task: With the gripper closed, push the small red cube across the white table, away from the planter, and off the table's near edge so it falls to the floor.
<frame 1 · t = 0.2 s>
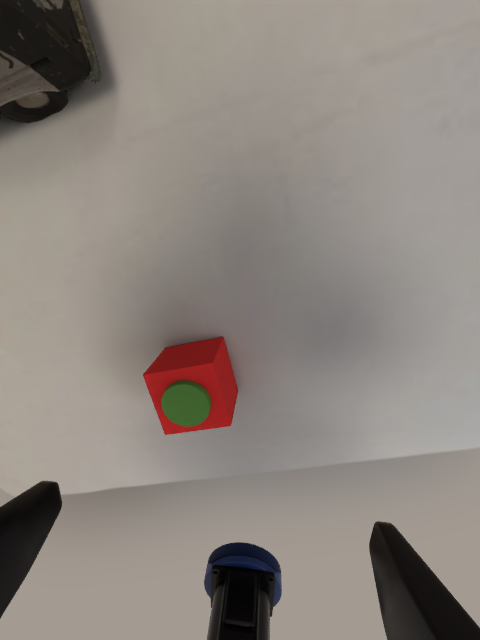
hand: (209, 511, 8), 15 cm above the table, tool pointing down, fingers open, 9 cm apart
red cube: (202, 369, 24), on the table
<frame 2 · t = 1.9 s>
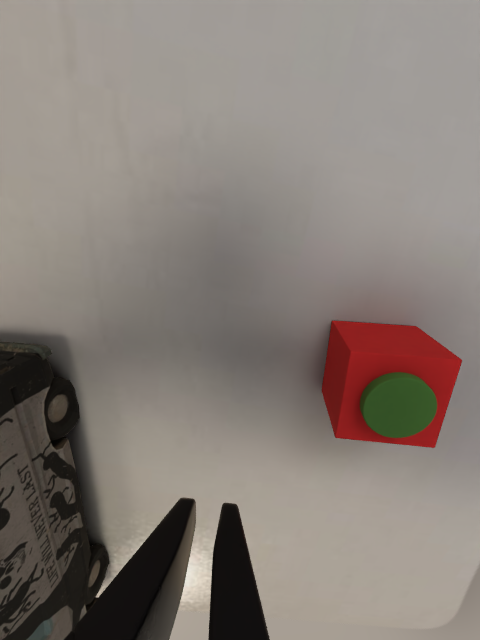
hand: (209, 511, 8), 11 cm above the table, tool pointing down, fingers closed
toy car: (36, 470, 24), on the table
red cube: (366, 360, 18), on the table
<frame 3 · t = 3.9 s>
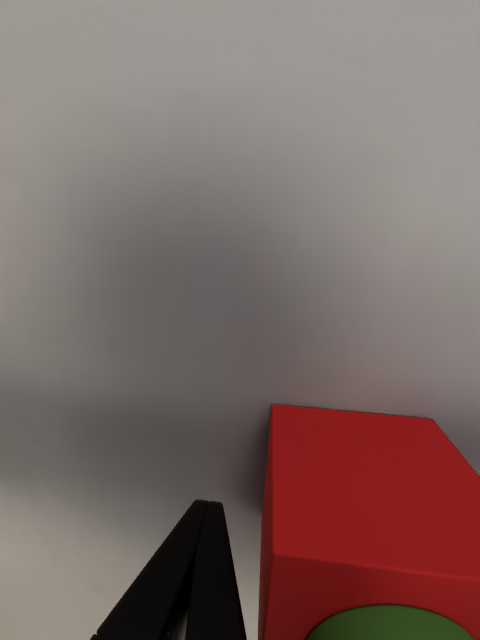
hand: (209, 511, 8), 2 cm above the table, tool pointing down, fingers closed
red cube: (338, 472, 10), on the table, touching gripper
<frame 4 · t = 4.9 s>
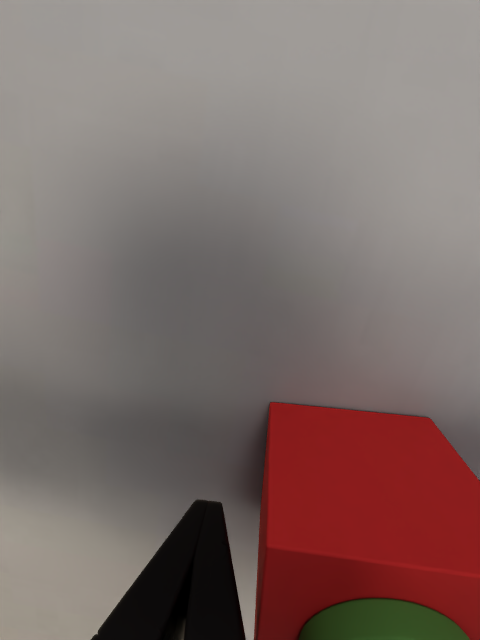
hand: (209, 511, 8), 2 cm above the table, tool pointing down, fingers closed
red cube: (336, 470, 10), on the table, touching gripper
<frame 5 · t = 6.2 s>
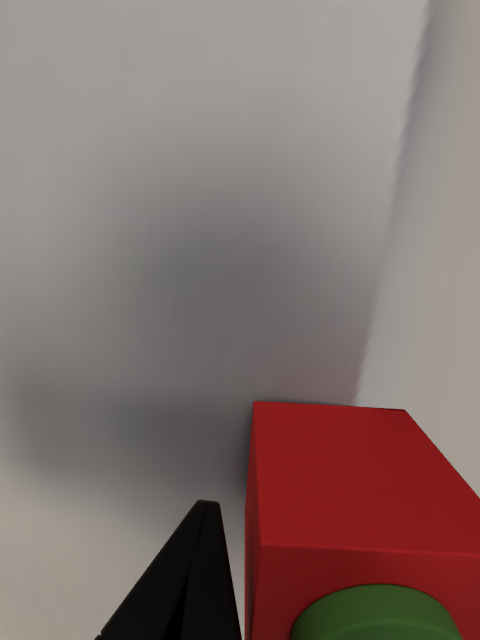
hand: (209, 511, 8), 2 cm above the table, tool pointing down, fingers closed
red cube: (318, 464, 10), on the table, tilted 7°, touching gripper
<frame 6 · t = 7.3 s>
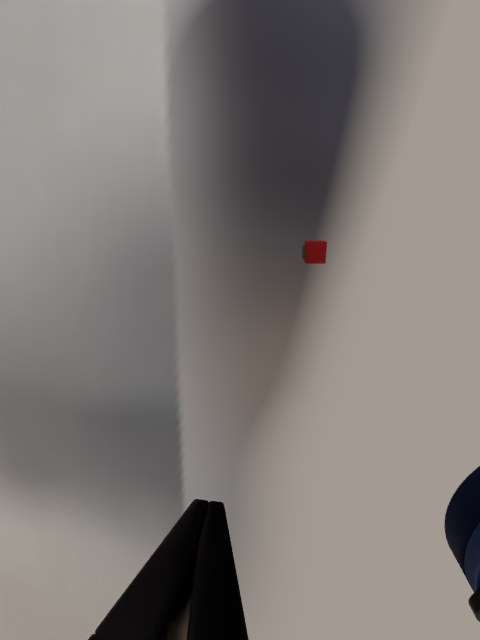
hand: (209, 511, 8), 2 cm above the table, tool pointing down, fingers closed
red cube: (324, 251, 69), on the floor, tilted 90°
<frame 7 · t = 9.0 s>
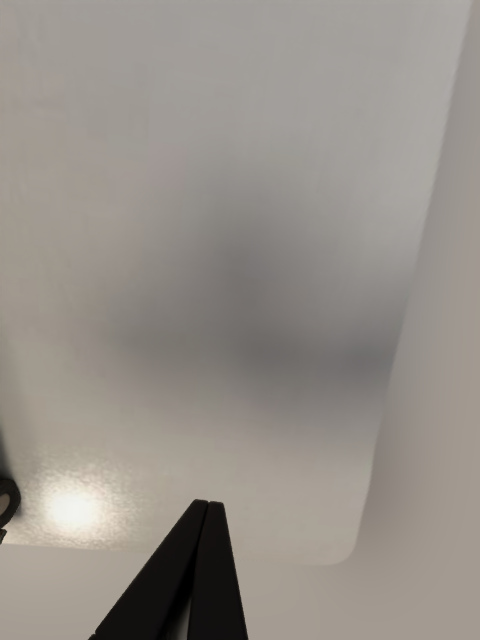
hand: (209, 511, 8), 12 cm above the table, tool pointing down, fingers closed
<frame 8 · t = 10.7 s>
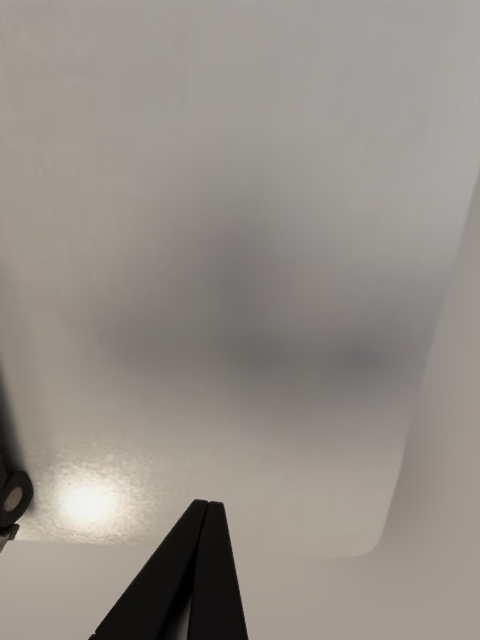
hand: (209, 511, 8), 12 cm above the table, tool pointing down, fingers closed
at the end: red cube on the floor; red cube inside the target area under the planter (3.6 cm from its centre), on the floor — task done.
